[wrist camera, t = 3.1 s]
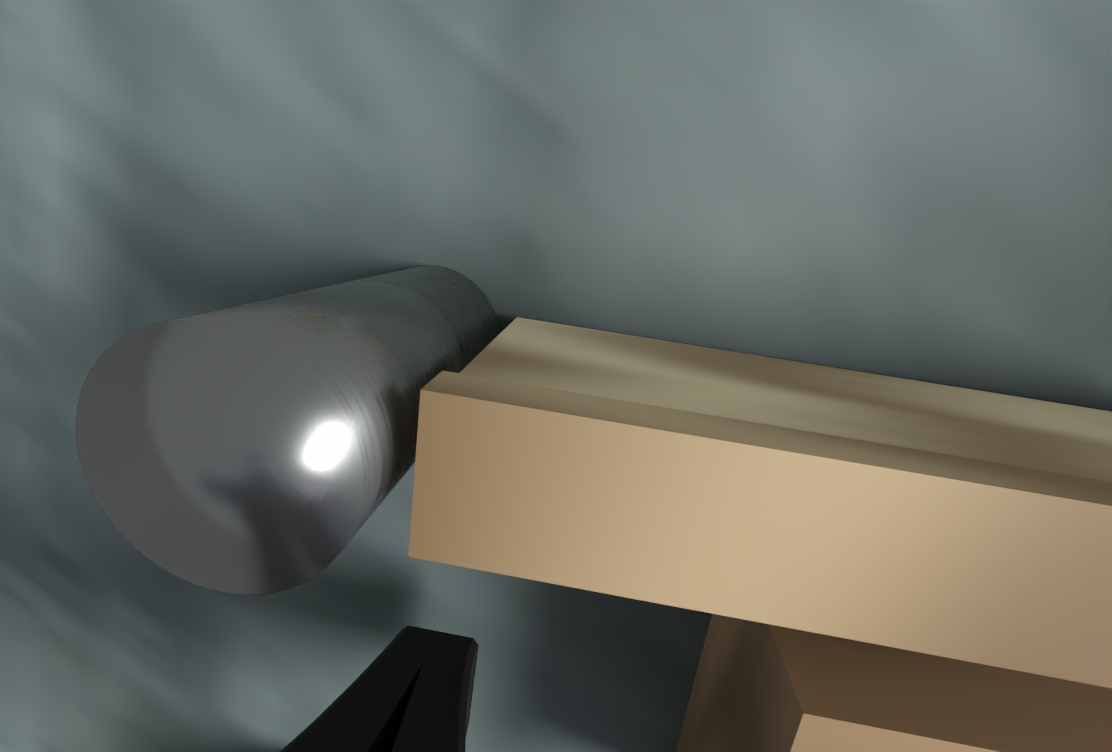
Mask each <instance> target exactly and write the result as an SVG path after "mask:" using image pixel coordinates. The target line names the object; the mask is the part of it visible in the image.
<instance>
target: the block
mask: <svg viewBox="0 0 1112 752" xmlns="http://www.w3.org/2000/svg"><path fill="white" fill-rule="evenodd" d="M675 752H1112V688H1107V687H1102V686H1097V685H1091V684H1086V683H1081V682H1075V681H1070V680H1065V679H1059V678H1054V677H1048V676H1043V675H1038V674H1032V673H1027V672H1022V671H1016V670H1011V669H1006V668H1000V667H995V666H990V665H984V664H979V663H974V662H968V661H963V660H958V659H952V658H947V657H942V656H936V655H931V654H926V653H920V652H915V651H909V650H904V649H899V648H893V647H888V646H883V645H877V644H872V643H867V642H861V641H856V640H851V639H845V638H840V637H835V636H829V635H824V634H819V633H813V632H808V631H803V630H797V629H792V628H787V627H781V626H776V625H771V624H765V623H760V622H754V621H749V620H744V619H738V618H733V617H728V616H722V615H717V614H712V617H711V620H710V624H709V628H708V632H707V635H706V639H705V643H704V646H703V650H702V654H701V658H700V661H699V665H698V669H697V673H696V676H695V680H694V684H693V688H692V691H691V695H690V699H689V702H688V706H687V710H686V714H685V717H684V721H683V725H682V729H681V732H680V736H679V740H678V744H677V747H676V751H675Z"/></svg>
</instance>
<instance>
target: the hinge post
mask: <svg viewBox="0 0 1112 752" xmlns="http://www.w3.org/2000/svg"><path fill="white" fill-rule="evenodd" d="M498 335H499V326H498V322H497V318H496V315H495V312H494V309H493V307H492V305H491V303H490V302H489V300H488V299H487V297H486V296H485V294H484V293H483V292H482V291H481V290H480V288H479V287H478V286H477V285H475V284H474V283H473V282H472V281H471V280H469V279H468V278H466V277H465V276H463V275H462V274H460V273H458V272H456V271H453V270H450V269H448V268H443V267H439V266H419V267H414V268H409V269H404V270H400V271H395V272H390V273H386V274H381V275H376V276H372V277H367V278H363V279H358V280H353V281H349V282H344V283H339V284H335V285H330V286H325V287H321V288H316V289H312V290H307V291H302V292H298V293H293V294H288V295H284V296H279V297H275V298H270V299H265V300H261V301H256V302H251V303H247V304H242V305H238V306H233V307H228V308H224V309H219V310H214V311H210V312H205V313H201V314H196V315H191V316H187V317H182V318H177V319H173V320H168V321H164V322H159V323H154V324H151V325H148V326H145V327H142V328H140V329H137V330H135V331H133V332H131V333H129V334H127V335H126V336H124V337H122V338H120V339H119V340H118V341H117V342H115V343H114V344H113V345H112V346H110V347H109V348H108V349H107V350H106V351H105V352H104V353H103V354H102V355H101V357H100V358H99V359H98V360H97V361H96V363H95V364H94V366H93V367H92V369H91V371H90V372H89V374H88V375H87V378H86V380H85V383H84V385H83V388H82V390H81V393H80V398H79V402H78V406H77V416H76V439H77V447H78V452H79V457H80V461H81V465H82V468H83V471H84V474H85V477H86V480H87V482H88V484H89V486H90V489H91V491H92V493H93V495H94V497H95V498H96V500H97V502H98V504H99V505H100V507H101V509H102V510H103V512H104V513H105V515H106V516H107V517H108V519H109V520H110V522H111V523H112V524H113V526H114V527H115V528H116V529H117V530H118V531H119V532H120V533H121V535H122V536H123V537H124V538H125V539H126V540H127V541H128V542H129V543H130V544H131V545H132V546H133V547H135V548H136V549H137V550H138V551H139V552H140V553H141V554H143V555H144V556H145V557H147V558H148V559H149V560H150V561H152V562H153V563H154V564H156V565H158V566H159V567H161V568H163V569H164V570H166V571H167V572H169V573H171V574H173V575H175V576H177V577H179V578H181V579H183V580H185V581H187V582H190V583H193V584H195V585H198V586H201V587H203V588H207V589H211V590H215V591H219V592H225V593H232V594H245V595H257V594H267V593H274V592H278V591H282V590H286V589H289V588H292V587H294V586H297V585H299V584H302V583H304V582H305V581H307V580H309V579H311V578H312V577H314V576H316V575H317V574H318V573H319V572H321V571H322V570H323V569H324V568H326V567H327V566H328V565H329V564H330V563H331V562H332V561H333V560H334V558H335V557H336V556H337V555H338V554H339V553H340V552H341V550H342V549H343V548H344V547H345V546H346V544H347V543H348V542H349V541H350V540H351V538H352V537H353V536H354V535H355V534H356V532H357V531H358V530H359V529H360V528H361V526H362V525H363V524H364V523H365V521H366V520H367V519H368V518H369V517H370V515H371V514H372V513H373V512H374V511H375V509H376V508H377V507H378V506H379V505H380V503H381V502H382V501H383V500H384V499H385V497H386V496H387V495H388V494H389V493H390V491H391V490H392V489H393V488H394V487H395V485H396V484H397V483H398V482H399V481H400V479H401V478H402V477H403V476H404V475H405V473H406V472H407V471H408V470H409V469H410V467H411V466H412V465H413V464H414V463H415V458H416V444H417V431H418V417H419V403H420V390H421V389H422V388H423V387H424V386H425V385H426V384H428V383H429V382H430V381H431V380H432V379H433V378H435V377H436V376H437V375H438V374H439V373H440V372H442V371H448V372H454V373H460V372H461V371H462V370H463V369H464V368H465V367H466V366H467V365H468V364H469V363H470V362H471V361H472V360H473V359H474V358H475V357H476V356H477V355H478V354H479V353H480V352H482V351H483V350H484V349H485V348H486V347H487V346H488V345H489V344H490V343H491V342H492V341H493V340H494V339H495V338H496V337H497V336H498Z"/></svg>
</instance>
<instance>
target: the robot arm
mask: <svg viewBox="0 0 1112 752" xmlns="http://www.w3.org/2000/svg"><path fill="white" fill-rule="evenodd" d="M477 652H478V644H477V642H476V641H475V640H474V639H473V638H469V637H464V636H459V635H454V634H449V633H444V632H439V631H433V630H428V629H423V628H418V627H413V626H407V627H405V628H404V629H402V630H401V631H400V632H399V634H398V635H397V636H396V637H395V638H394V639H393V641H392V642H391V643H390V644H389V645H388V646H387V647H386V648H385V649H384V651H383V652H382V653H381V654H380V655H379V656H378V657H377V658H376V659H375V660H374V661H373V662H372V664H371V665H370V666H369V667H368V668H367V669H366V670H365V671H364V672H363V673H362V674H361V675H360V676H359V677H358V678H357V679H356V680H355V681H354V682H353V683H352V684H351V685H350V686H349V687H348V688H347V689H346V690H345V691H344V692H343V693H342V694H341V695H340V696H339V697H338V698H337V699H336V700H335V701H334V702H333V703H332V704H331V705H330V706H329V707H328V708H327V709H326V710H325V711H324V712H323V713H322V714H321V715H320V716H319V717H318V718H317V719H316V720H315V721H314V722H312V723H311V724H310V725H309V726H308V727H307V728H306V729H305V730H304V731H303V732H302V733H300V734H299V735H298V736H297V737H296V738H295V739H294V740H293V741H292V742H290V743H289V744H288V745H287V746H286V747H285V748H284V749H283V750H282V751H280V752H465V737H466V732H467V728H468V724H469V717H470V709H471V701H472V693H473V685H474V676H475V668H476V660H477Z"/></svg>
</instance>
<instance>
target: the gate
mask: <svg viewBox="0 0 1112 752" xmlns="http://www.w3.org/2000/svg"><path fill="white" fill-rule="evenodd" d="M408 557H412V558H418V559H423V560H428V561H434V562H439V563H444V564H450V565H455V566H460V567H466V568H471V569H476V570H482V571H487V572H493V573H498V574H503V575H509V576H514V577H519V578H525V579H530V580H535V581H541V582H546V583H551V584H557V585H562V586H567V587H573V588H578V589H583V590H589V591H594V592H599V593H605V594H610V595H615V596H621V597H626V598H632V599H637V600H642V601H648V602H653V603H658V604H664V605H669V606H674V607H680V608H685V609H690V610H696V611H701V612H706V613H712V614H717V615H722V616H728V617H733V618H738V619H744V620H749V621H754V622H760V623H765V624H771V625H776V626H781V627H787V628H792V629H797V630H803V631H808V632H813V633H819V634H824V635H829V636H835V637H840V638H845V639H851V640H856V641H861V642H867V643H872V644H877V645H883V646H888V647H893V648H899V649H904V650H909V651H915V652H920V653H926V654H931V655H936V656H942V657H947V658H952V659H958V660H963V661H968V662H974V663H979V664H984V665H990V666H995V667H1000V668H1006V669H1011V670H1016V671H1022V672H1027V673H1032V674H1038V675H1043V676H1048V677H1054V678H1059V679H1065V680H1070V681H1075V682H1081V683H1086V684H1091V685H1097V686H1102V687H1107V688H1112V412H1111V411H1105V410H1098V409H1092V408H1086V407H1080V406H1073V405H1067V404H1061V403H1054V402H1048V401H1042V400H1035V399H1029V398H1023V397H1017V396H1010V395H1004V394H998V393H991V392H985V391H979V390H973V389H966V388H960V387H954V386H947V385H941V384H935V383H928V382H922V381H916V380H910V379H903V378H897V377H891V376H884V375H878V374H872V373H866V372H859V371H853V370H847V369H840V368H834V367H828V366H821V365H815V364H809V363H803V362H796V361H790V360H784V359H777V358H771V357H765V356H759V355H752V354H746V353H740V352H733V351H727V350H721V349H714V348H708V347H702V346H696V345H689V344H683V343H677V342H670V341H664V340H658V339H652V338H645V337H639V336H633V335H626V334H620V333H614V332H608V331H601V330H595V329H589V328H582V327H576V326H570V325H563V324H557V323H551V322H545V321H538V320H532V319H526V318H519V317H517V318H515V319H514V320H513V321H512V322H511V323H510V324H509V325H508V326H507V327H506V328H505V329H504V330H503V331H502V332H501V333H500V334H499V335H498V336H497V337H496V338H495V339H494V340H493V341H492V342H491V343H490V344H489V345H488V346H487V347H486V348H485V349H484V350H483V351H482V352H480V353H479V354H478V355H477V356H476V357H475V358H474V359H473V360H472V361H471V362H470V363H469V364H468V365H467V366H466V367H465V368H464V369H463V370H462V371H461V372H460V373H454V372H448V371H442V372H440V373H439V374H438V375H437V376H436V377H435V378H433V379H432V380H431V381H430V382H429V383H428V384H426V385H425V386H424V387H423V388H422V389H421V390H420V403H419V417H418V431H417V444H416V458H415V472H414V485H413V499H412V512H411V526H410V540H409V553H408Z"/></svg>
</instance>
